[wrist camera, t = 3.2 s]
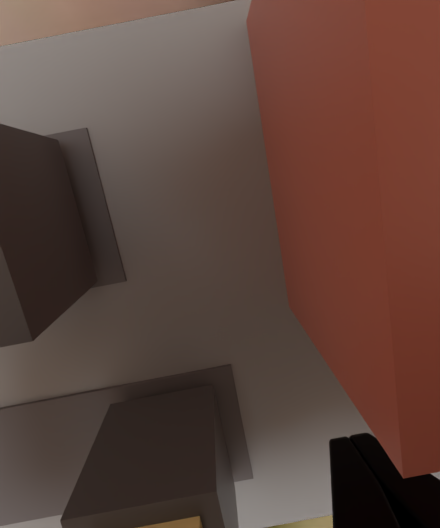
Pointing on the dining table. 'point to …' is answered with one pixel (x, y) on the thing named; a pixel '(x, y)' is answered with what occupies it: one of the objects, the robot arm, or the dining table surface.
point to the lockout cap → (360, 199)
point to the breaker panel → (165, 267)
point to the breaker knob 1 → (37, 237)
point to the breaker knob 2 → (157, 467)
